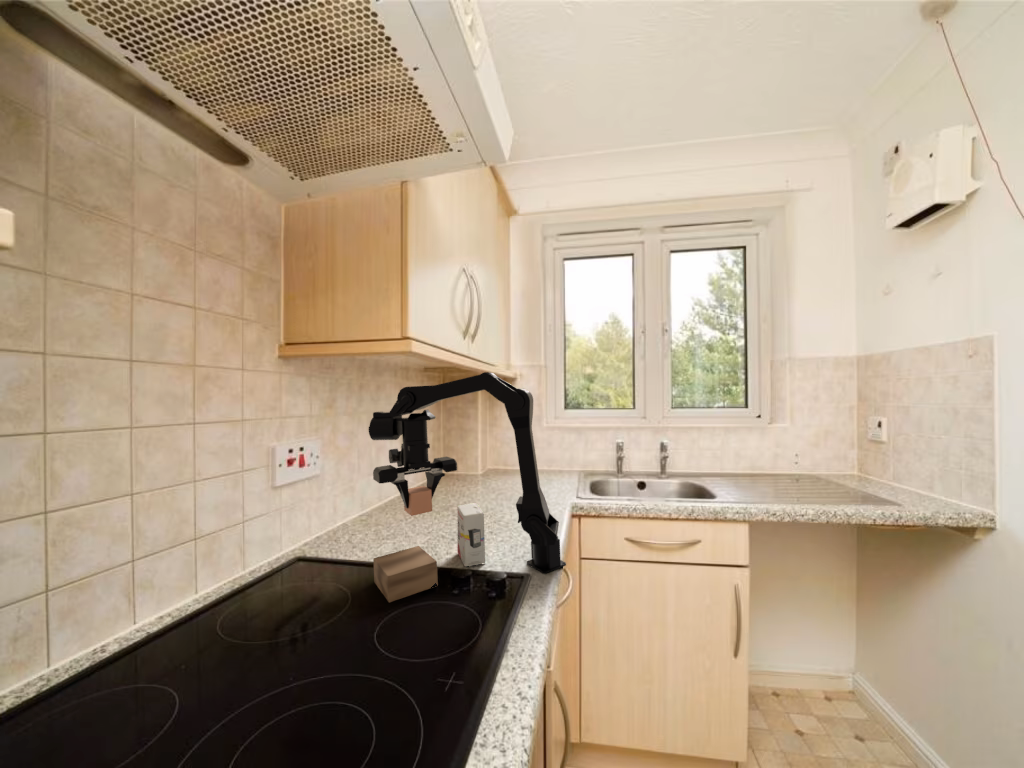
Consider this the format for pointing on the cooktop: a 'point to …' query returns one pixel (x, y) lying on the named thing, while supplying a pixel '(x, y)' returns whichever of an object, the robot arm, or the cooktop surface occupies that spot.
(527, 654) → the cooktop surface
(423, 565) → the walnut block
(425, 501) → the terracotta cube
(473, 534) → the ink box
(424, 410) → the robot arm
